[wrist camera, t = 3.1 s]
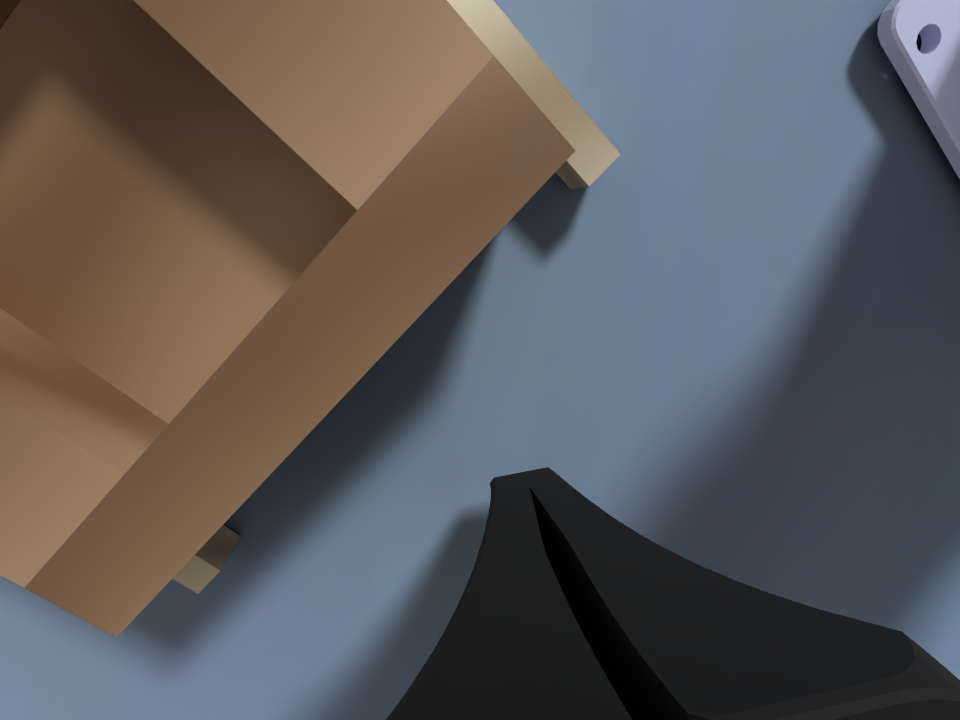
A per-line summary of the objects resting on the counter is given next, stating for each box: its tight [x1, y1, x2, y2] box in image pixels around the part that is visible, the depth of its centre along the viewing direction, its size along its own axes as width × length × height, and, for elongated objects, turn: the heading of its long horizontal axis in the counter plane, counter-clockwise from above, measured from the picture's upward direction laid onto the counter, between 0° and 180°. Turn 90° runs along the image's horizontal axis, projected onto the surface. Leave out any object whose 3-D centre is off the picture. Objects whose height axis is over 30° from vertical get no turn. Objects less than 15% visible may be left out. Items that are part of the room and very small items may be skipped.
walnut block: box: [0, 0, 575, 637], centre depth 8 cm, size 8×10×4 cm
